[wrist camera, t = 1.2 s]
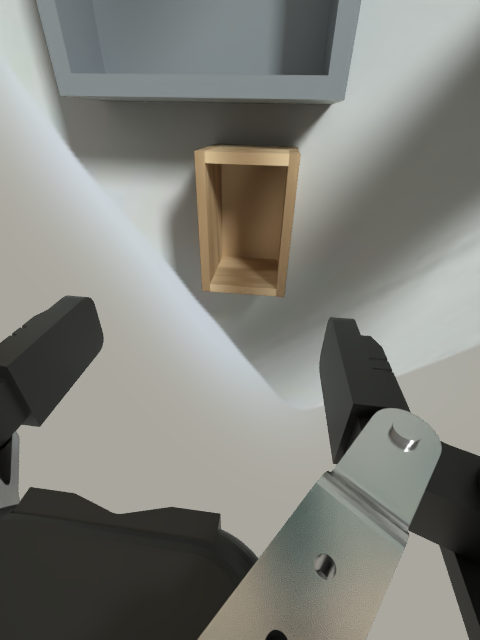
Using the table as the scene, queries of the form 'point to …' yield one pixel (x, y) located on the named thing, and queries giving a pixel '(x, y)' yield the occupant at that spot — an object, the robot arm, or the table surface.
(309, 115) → the table surface
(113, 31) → the grey square tray
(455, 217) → the table surface
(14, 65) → the table surface
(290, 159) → the small oak crate
